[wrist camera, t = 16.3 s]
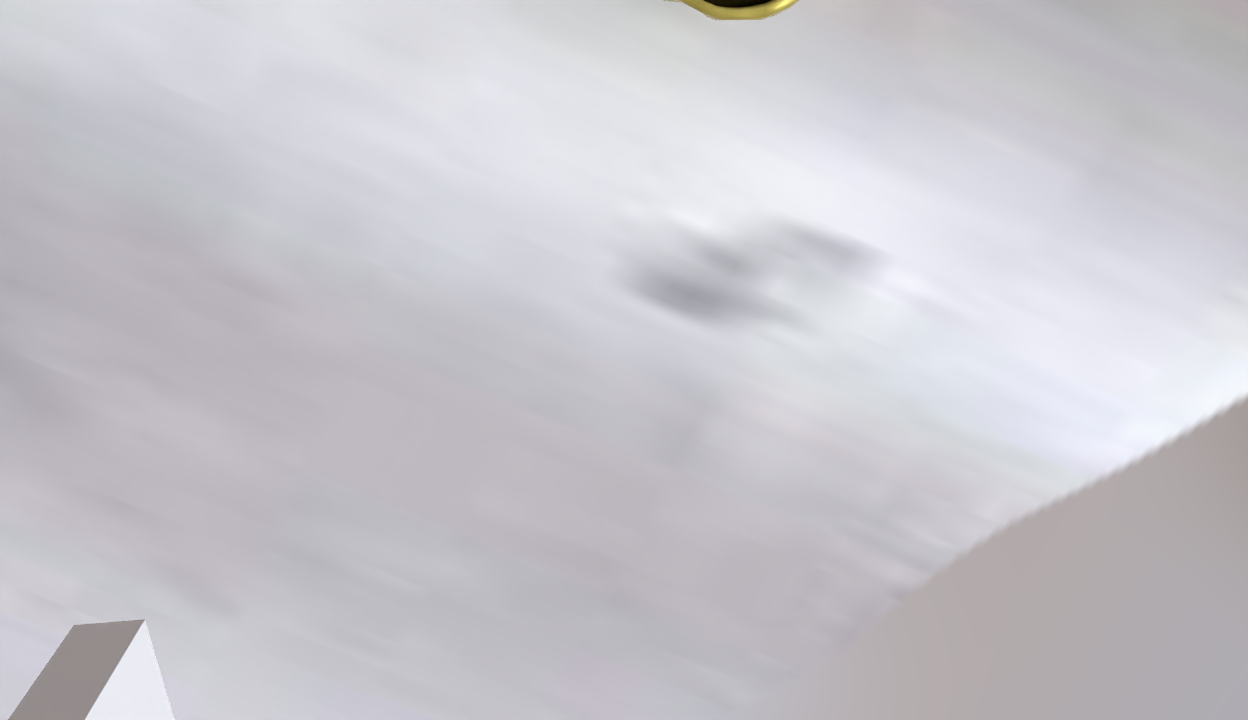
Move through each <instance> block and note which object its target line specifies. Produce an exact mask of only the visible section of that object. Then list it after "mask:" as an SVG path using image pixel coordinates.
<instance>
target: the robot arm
mask: <svg viewBox="0 0 1248 720" xmlns="http://www.w3.org/2000/svg"><path fill="white" fill-rule="evenodd" d="M8 720H175V719H174V715H173V712H172V709H171V705H170V702H169V699H168V695H167V692H166V689H165V685H164V682H163V679H162V675H161V672H160V669H159V665H158V662H157V658H156V655H155V652H154V648H153V645H152V642H151V638H150V635H149V632H148V628H147V625H146V622H145V620H133V621H121V622H108V623H96V624H84V625H74V626H73V627H72V629H71V630H70V632H69V633H68V635H67V636H66V637H65V639H64V640H63V642H62V643H61V645H60V646H59V648H58V649H57V650H56V652H55V653H54V655H53V656H52V658H51V659H50V660H49V662H48V663H47V665H46V666H45V668H44V669H43V671H42V672H41V673H40V675H39V676H38V678H37V679H36V681H35V682H34V683H33V685H32V686H31V688H30V689H29V691H28V692H27V693H26V695H25V696H24V698H23V699H22V701H21V702H20V704H19V705H18V706H17V708H16V709H15V711H14V712H13V714H12V715H11V716H10V718H9V719H8Z"/></svg>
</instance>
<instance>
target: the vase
mask: <svg viewBox="0 0 1248 720" xmlns="http://www.w3.org/2000/svg"><path fill="white" fill-rule="evenodd" d="M666 1H675V2H683V3H685V4H687V5H689V6H691V7H693V8H695V9H696V10H698V11H700V12H702V13H703V14H704V15H706V16H707V17H709V18H712V19H715V20H761V19H765V18H768V17H771V16H774V15H776V14H778V13H781V12H782V11H784V10H786V9H788V8H790V7H791V6H792V5H793V4H795V3H796V2H797V1H799V0H666Z"/></svg>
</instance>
